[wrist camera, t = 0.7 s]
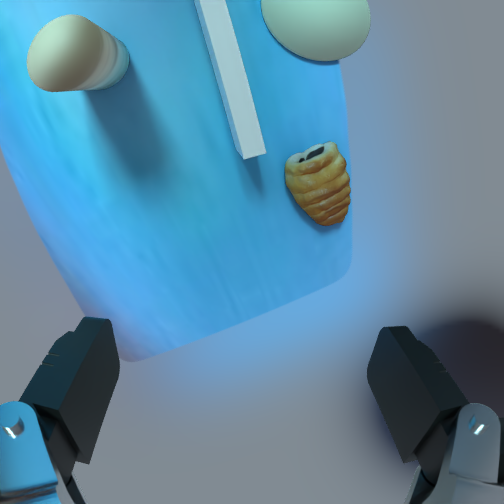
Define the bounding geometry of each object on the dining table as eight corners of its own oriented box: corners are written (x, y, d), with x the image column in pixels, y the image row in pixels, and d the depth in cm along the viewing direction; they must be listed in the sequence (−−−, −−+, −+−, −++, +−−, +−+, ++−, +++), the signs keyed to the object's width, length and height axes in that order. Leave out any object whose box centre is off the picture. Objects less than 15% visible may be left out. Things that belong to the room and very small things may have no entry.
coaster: (237, 20, 25) (238, 19, 24) (297, -55, 21) (298, -57, 20) (336, 82, 29) (337, 82, 29) (385, 8, 25) (386, 7, 25)
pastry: (354, 205, 37) (369, 218, 34) (306, 231, 38) (317, 246, 34) (329, 135, 32) (344, 141, 29) (273, 161, 33) (283, 170, 29)
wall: (172, -70, 18) (171, -91, 14) (192, -74, 18) (194, -96, 14) (235, 149, 31) (244, 159, 27) (255, 143, 31) (266, 153, 27)
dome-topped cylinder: (67, 79, 24) (15, 79, 14) (93, 30, 22) (50, 6, 13) (112, 97, 26) (76, 102, 17) (139, 48, 24) (114, 27, 15)
